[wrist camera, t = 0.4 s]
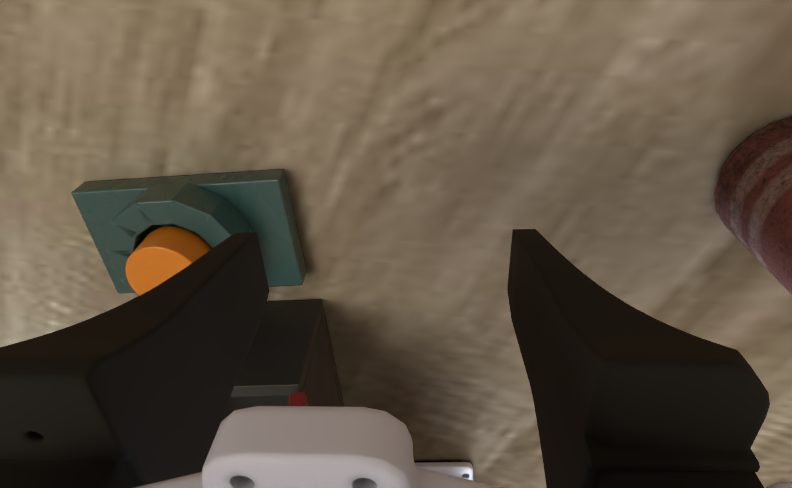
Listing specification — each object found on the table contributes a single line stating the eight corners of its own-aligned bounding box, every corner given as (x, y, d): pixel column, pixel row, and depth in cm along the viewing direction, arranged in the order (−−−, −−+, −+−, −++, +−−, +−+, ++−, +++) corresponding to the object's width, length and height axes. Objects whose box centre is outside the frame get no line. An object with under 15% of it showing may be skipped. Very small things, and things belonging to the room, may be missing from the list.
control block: (307, 274, 28) (295, 310, 25) (129, 283, 29) (100, 318, 26) (283, 165, 24) (267, 194, 22) (82, 178, 25) (44, 207, 23)
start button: (224, 284, 25) (212, 308, 24) (157, 288, 25) (140, 311, 24) (204, 223, 23) (189, 244, 22) (132, 228, 24) (112, 248, 22)
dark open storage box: (204, 446, 36) (166, 536, 31) (141, 306, 29) (80, 390, 24) (352, 443, 35) (339, 536, 30) (322, 298, 29) (298, 384, 23)
